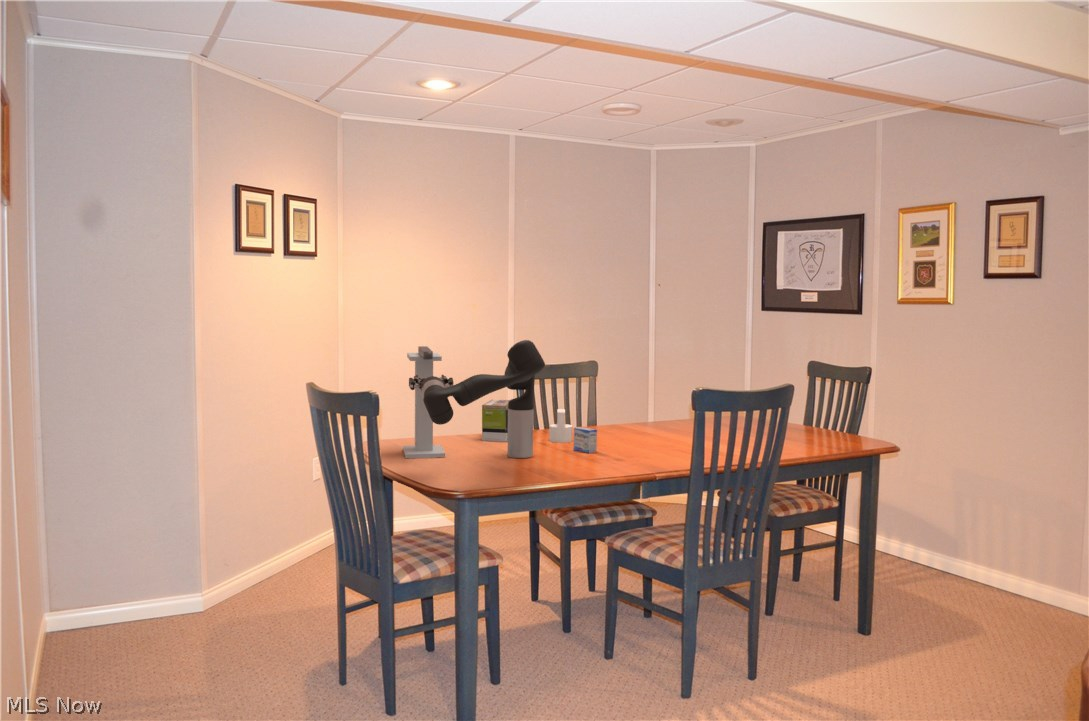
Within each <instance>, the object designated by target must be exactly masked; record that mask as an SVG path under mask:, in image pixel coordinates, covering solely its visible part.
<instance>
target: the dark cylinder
mask: <svg viewBox="0 0 1089 721" xmlns="http://www.w3.org/2000/svg"><path fill="white" fill-rule="evenodd" d="M417 348H418V349H417V351H418V352H417V353H419V355H420V356H421V357H422V358H423V359H433V353H434V352H433V350H432V349H431V348H430V347H429V346H426V345H425V346H424V345H423V346H417Z"/></svg>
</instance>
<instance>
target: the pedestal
mask: <svg viewBox="0 0 1089 721" xmlns="http://www.w3.org/2000/svg"><path fill="white" fill-rule="evenodd" d="M406 356H407V358H408V360H409V361H410V362H414V376H416V375H418V377H419V378H421V377H423V378H428V377H431V376H434V362H442V361H443V359H442V355H441V354H440V353H438V352H433V359H423V358H422V357H421V356H420V355H419V353H418V352H407V355H406ZM418 382H419V381H418ZM423 399H424V398H423V395H422V392H421V389H419V387H416V388H415V389H414V445H403V446H402V451H404V452H403V455H404V458H409V459H436V458H437V459H439V458H438V457H445V458H446V451H445V450H444V449H443V447H442V444H434V422H433V421H432V420H431V418H430V416H429V413H428V411H427V409H426V407H425V404H424V401H423Z"/></svg>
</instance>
